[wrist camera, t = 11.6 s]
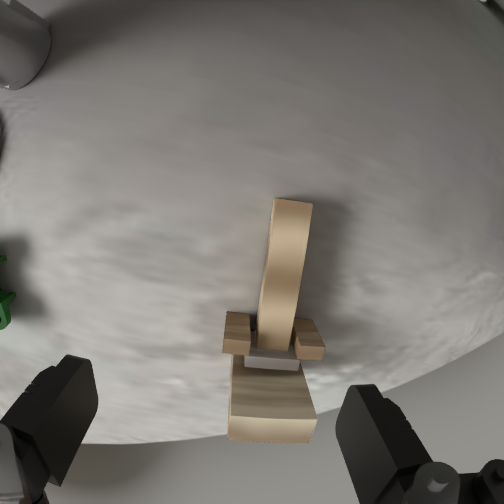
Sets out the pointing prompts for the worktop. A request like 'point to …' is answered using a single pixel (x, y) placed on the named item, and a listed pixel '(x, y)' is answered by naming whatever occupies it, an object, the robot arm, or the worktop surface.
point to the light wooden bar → (280, 287)
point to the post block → (270, 387)
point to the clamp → (5, 304)
